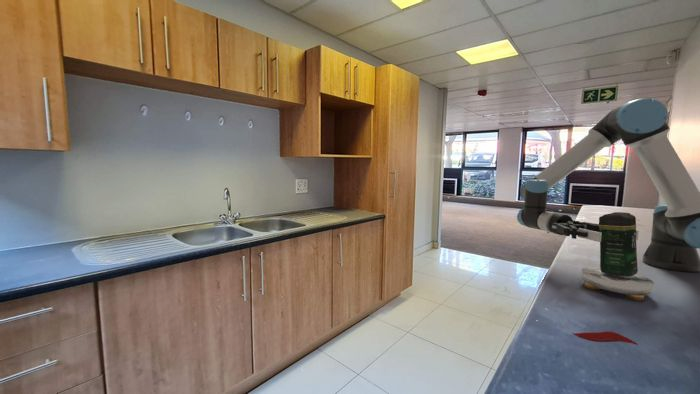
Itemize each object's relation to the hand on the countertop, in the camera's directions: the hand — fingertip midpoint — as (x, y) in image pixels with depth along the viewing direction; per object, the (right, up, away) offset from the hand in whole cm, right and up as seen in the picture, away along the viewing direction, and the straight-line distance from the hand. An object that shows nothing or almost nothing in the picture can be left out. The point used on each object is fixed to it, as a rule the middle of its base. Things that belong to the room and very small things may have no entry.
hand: (619, 236), depth 86 cm
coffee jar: (+2, -12, +2) cm, 12 cm away
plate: (0, -16, +2) cm, 17 cm away
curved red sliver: (-25, -19, -23) cm, 39 cm away
